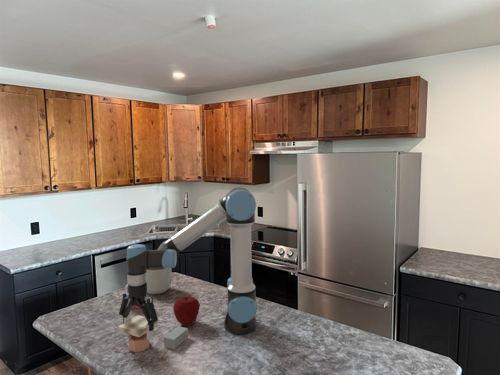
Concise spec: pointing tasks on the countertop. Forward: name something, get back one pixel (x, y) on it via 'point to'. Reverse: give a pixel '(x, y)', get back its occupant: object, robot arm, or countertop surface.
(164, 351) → the countertop surface
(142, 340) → the bowl
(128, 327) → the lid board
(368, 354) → the countertop surface
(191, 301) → the apple
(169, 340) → the grey rectangular block
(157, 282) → the planter
